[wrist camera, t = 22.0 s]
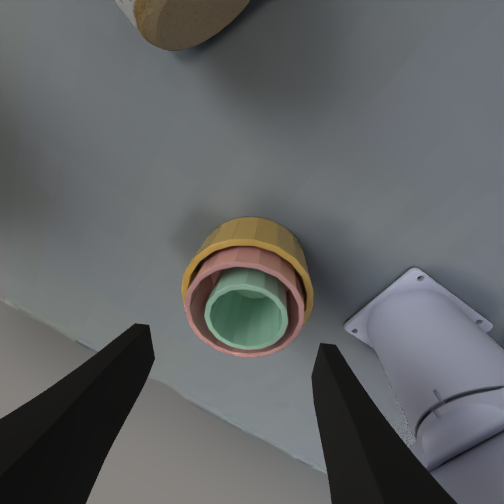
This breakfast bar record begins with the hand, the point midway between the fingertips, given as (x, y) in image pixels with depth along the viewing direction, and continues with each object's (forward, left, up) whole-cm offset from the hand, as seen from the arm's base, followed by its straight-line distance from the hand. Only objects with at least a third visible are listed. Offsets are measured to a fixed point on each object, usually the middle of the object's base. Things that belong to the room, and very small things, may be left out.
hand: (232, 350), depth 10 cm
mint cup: (-1, +1, -10) cm, 10 cm away
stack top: (-1, +2, -10) cm, 11 cm away
